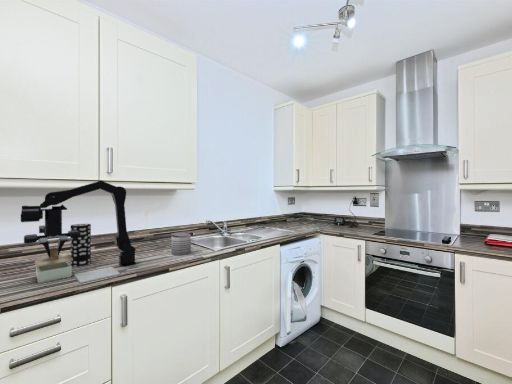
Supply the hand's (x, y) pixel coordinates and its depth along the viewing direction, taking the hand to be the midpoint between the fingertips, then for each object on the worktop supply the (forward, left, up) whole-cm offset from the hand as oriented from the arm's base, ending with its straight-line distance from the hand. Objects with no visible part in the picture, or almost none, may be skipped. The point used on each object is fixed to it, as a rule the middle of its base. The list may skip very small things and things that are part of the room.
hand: (53, 256), depth 107 cm
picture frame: (-14, +11, -9) cm, 20 cm away
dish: (0, 0, -9) cm, 9 cm away
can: (-59, +3, -9) cm, 60 cm away
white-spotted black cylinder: (-12, -13, -9) cm, 20 cm away
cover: (0, 0, -2) cm, 2 cm away
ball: (0, 0, -6) cm, 7 cm away
